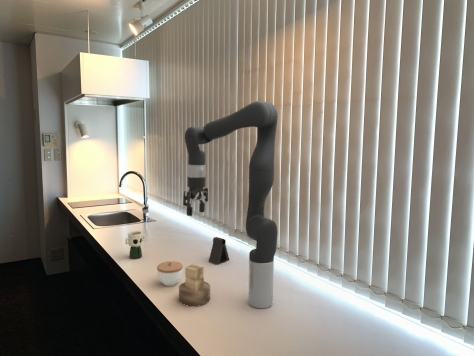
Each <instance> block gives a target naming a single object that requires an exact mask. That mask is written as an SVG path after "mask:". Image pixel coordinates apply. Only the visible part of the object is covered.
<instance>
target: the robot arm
mask: <svg viewBox="0 0 474 356" xmlns="http://www.w3.org/2000/svg"><path fill="white" fill-rule="evenodd" d="M278 118H279V115H278V109H277V106H275V105H274V104H273V103H271V102H267V101H262V100H255V101H253V102H250V103H249V104H247V105H245V106H244V107H242V108H240V109H238V110H236V111H235V112H232V113H231V114H229V115H226V116H223V117H220V118H217V119H215V120H212V121H209V122H207V123H205V124H204V126H202V127H201V126H190V127H188V128H187V129H186V130H185V132H184V143H185V148H186V151H187V155H188V156H187V157H188V158H187V160H188V162H187V163H188V164H187V173H186V174H187V175H186V176H187V180H186V181H187V182H186V186H187V187H188V190H183V195H182V196H183V198H182V199H183V200H182V202H183V203H182V206H184V207H186V216H188V217H192V216H193V206H194V204H195V203H196V201H198V204H199V207H198V208H199V210H198V211H199V213H205V210H206V208H205V207H206V203H207V202H208V201H209V188H208V187H206V181H207V180H206V176H207V175H206V174H207V173H206V172H207V171H206V153H205V151H203V150H201V149H200V145H206V144H209V143H210V142H213V141H214V140H217V139H220V138H224V137H227V136H228V135H230V134H232V133H234V132H235V131H237V130H240V129H244V128H252V127H253V128H254V127H255V128H257V133H256V134H257V139H256V144H255V146H254V150H253V152H252V154H251V157H250V160H249V163H248V164H249V165H248V201H247V203H248V204H247V211H246V217H245V218H246V219H245V232H246V235H247V237H249V238H250V239H251V240H253V241H256V246H255V248H253V249H251V250H250V251H249V253H248V298H247V299H248V301H247V302H248V305H249V306H251V307H252V308H256V309H267V308H270V307H271V306H272V305H274V303H273V301H274V269H275V268H274V265H275V263H274V262H275V260H274V259H275V258H274V257H275V255H276V252H277V243H278V226H277V224H276V222H275V220H273V219H271V218H268V217H266V216H265V204H266V200H267V198H268V195H269V194H270V192H271V189H272V187H273V185H274V182H275V181H274V180H275V145H276V144H275V142H276V134H277V127H278V126H277V125H278V120H279V119H278Z"/></svg>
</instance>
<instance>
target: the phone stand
mask: <svg viewBox="0 0 474 356" xmlns="http://www.w3.org/2000/svg"><path fill="white" fill-rule="evenodd" d="M210 250H211V251H210V254H209V257H208V263H211V264H214V265H217V266H218V265H220V264H223V263H226V262H229V261H230V257H229V252H228V249H227V244H226V239H225V238H221V237H218V236H215V237H214V236H213V238H212V246H211V249H210Z"/></svg>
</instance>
